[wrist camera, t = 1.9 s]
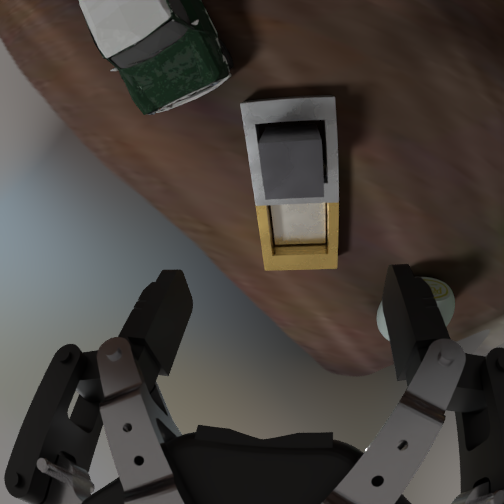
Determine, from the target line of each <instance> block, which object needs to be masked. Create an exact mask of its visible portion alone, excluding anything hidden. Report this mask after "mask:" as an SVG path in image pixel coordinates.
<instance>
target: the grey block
mask: <svg viewBox="0 0 504 504" xmlns="http://www.w3.org/2000/svg"><path fill="white" fill-rule="evenodd" d="M258 147H259V154H260V162H261V169H262V177H263V184H264V192H265V200H270V199H289V198H313V197H324V177H323V155H322V139H321V137H320V134H319V131H318V128H317V125H316V123H312V124H292V125H278V126H266V128H265V130H264V132H263V134H262V136H261V139H260V141H259V143H258Z"/></svg>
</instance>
